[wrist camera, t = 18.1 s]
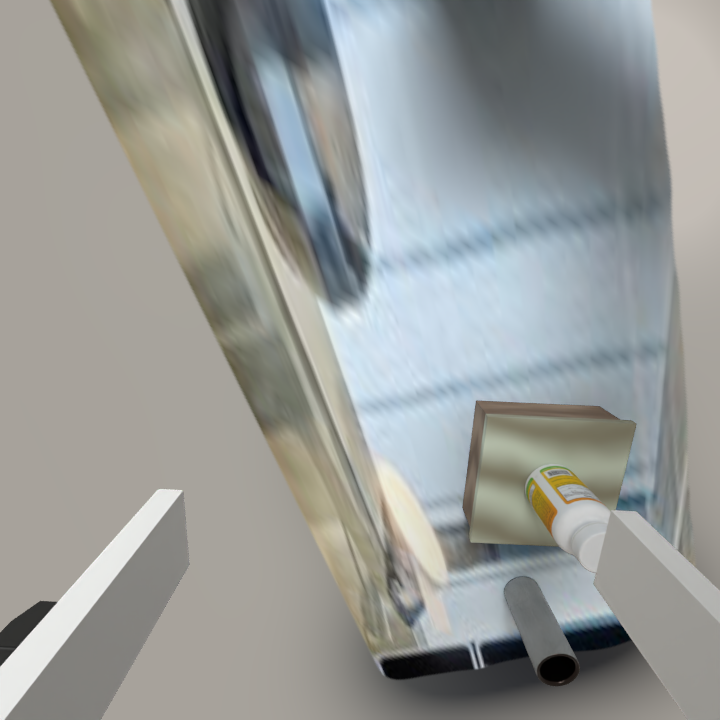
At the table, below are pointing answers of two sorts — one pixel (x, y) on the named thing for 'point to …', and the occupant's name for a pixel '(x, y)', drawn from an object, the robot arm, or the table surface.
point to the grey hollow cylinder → (541, 633)
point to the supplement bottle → (569, 512)
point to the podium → (537, 463)
